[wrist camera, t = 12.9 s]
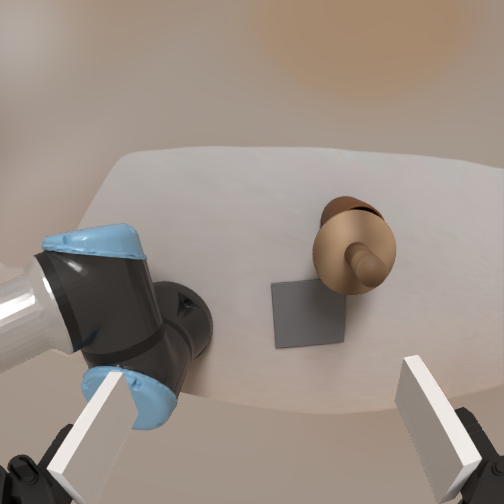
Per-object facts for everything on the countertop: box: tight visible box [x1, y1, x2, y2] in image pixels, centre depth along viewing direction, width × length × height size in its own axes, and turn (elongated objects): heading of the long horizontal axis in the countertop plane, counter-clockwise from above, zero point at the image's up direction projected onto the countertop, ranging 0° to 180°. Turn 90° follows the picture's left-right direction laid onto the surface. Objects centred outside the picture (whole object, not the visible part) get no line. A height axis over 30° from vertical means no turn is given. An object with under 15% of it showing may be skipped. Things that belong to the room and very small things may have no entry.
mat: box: [271, 279, 346, 348], centre depth 52 cm, size 12×12×1 cm
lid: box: [313, 210, 396, 295], centre depth 35 cm, size 11×11×8 cm
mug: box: [321, 196, 384, 226], centre depth 44 cm, size 12×8×9 cm, turn 169°
